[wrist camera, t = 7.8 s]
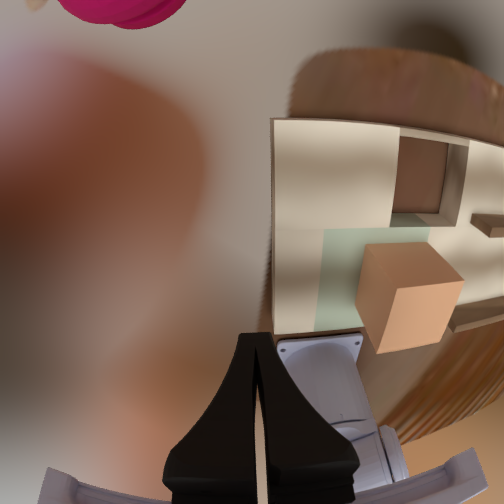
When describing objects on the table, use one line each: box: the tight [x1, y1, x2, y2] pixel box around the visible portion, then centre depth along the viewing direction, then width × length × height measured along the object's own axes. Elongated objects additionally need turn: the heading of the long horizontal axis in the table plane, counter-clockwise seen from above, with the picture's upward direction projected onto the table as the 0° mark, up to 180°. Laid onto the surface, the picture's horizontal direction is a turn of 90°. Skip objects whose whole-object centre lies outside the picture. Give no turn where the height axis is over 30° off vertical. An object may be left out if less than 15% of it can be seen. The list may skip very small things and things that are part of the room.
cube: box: [355, 242, 465, 354], centre depth 17 cm, size 5×5×5 cm
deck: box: [270, 118, 504, 334], centre depth 19 cm, size 15×26×2 cm, turn 92°
